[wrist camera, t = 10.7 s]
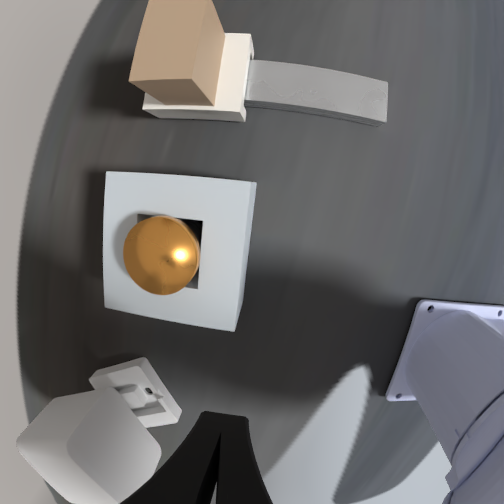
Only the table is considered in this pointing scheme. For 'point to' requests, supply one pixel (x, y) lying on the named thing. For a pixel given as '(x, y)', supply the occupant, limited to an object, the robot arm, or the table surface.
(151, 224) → the gold round knob
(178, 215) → the grey square-hole block
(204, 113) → the carriage
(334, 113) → the rail
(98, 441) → the security camera
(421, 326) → the robot arm
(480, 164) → the table surface
